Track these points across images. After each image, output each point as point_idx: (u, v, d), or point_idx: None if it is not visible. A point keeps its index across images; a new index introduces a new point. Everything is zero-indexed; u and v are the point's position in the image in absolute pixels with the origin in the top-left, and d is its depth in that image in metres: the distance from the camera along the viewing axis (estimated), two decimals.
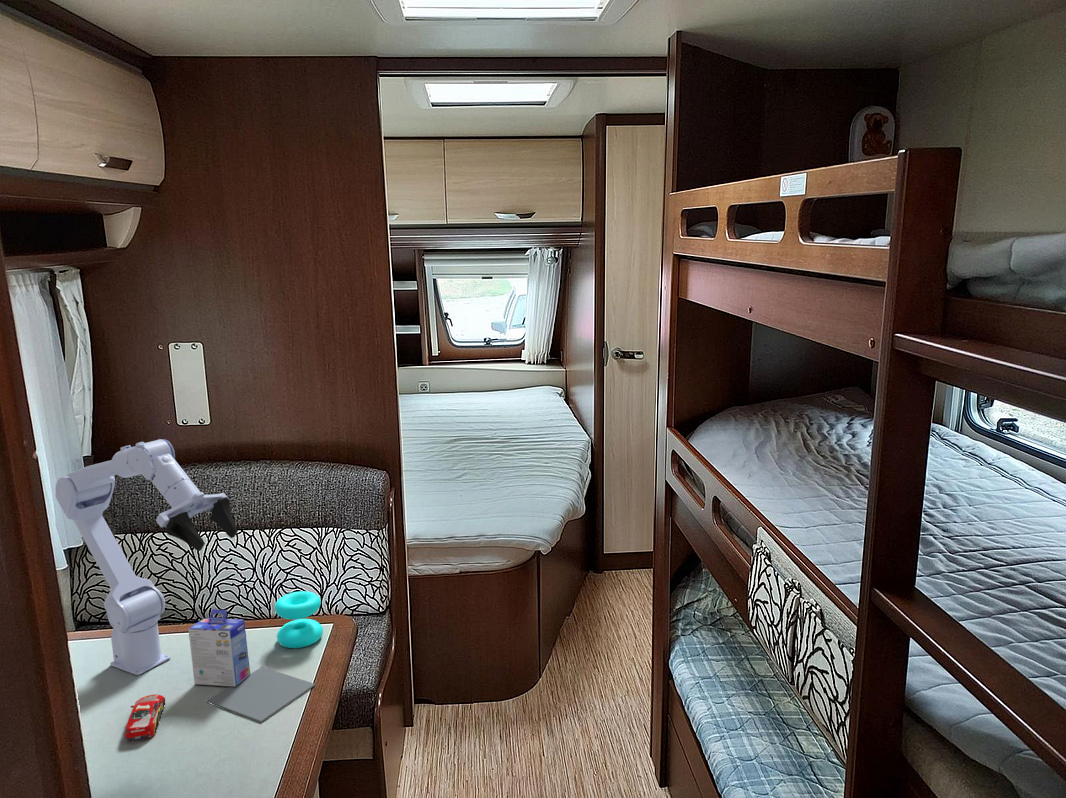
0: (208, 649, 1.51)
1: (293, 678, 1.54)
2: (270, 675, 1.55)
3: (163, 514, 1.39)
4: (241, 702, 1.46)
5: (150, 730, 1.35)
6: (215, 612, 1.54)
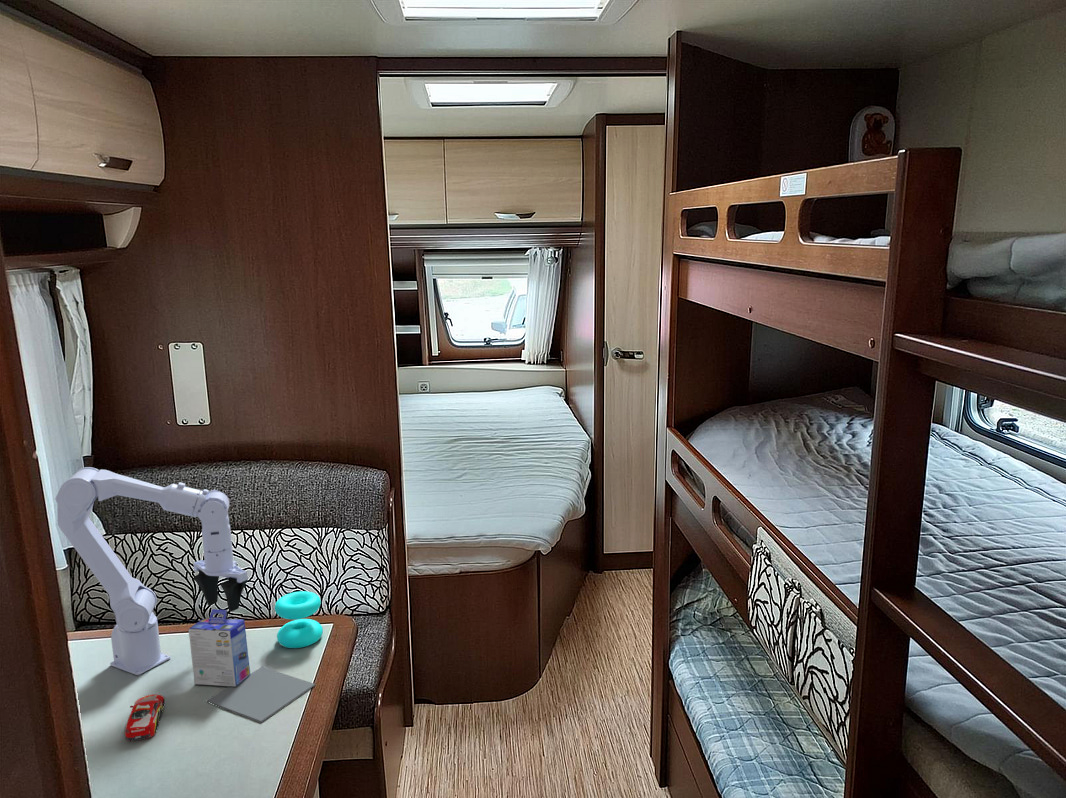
0: (208, 649, 1.51)
1: (293, 678, 1.54)
2: (270, 675, 1.55)
3: None
4: (241, 702, 1.46)
5: (150, 730, 1.35)
6: (215, 612, 1.54)
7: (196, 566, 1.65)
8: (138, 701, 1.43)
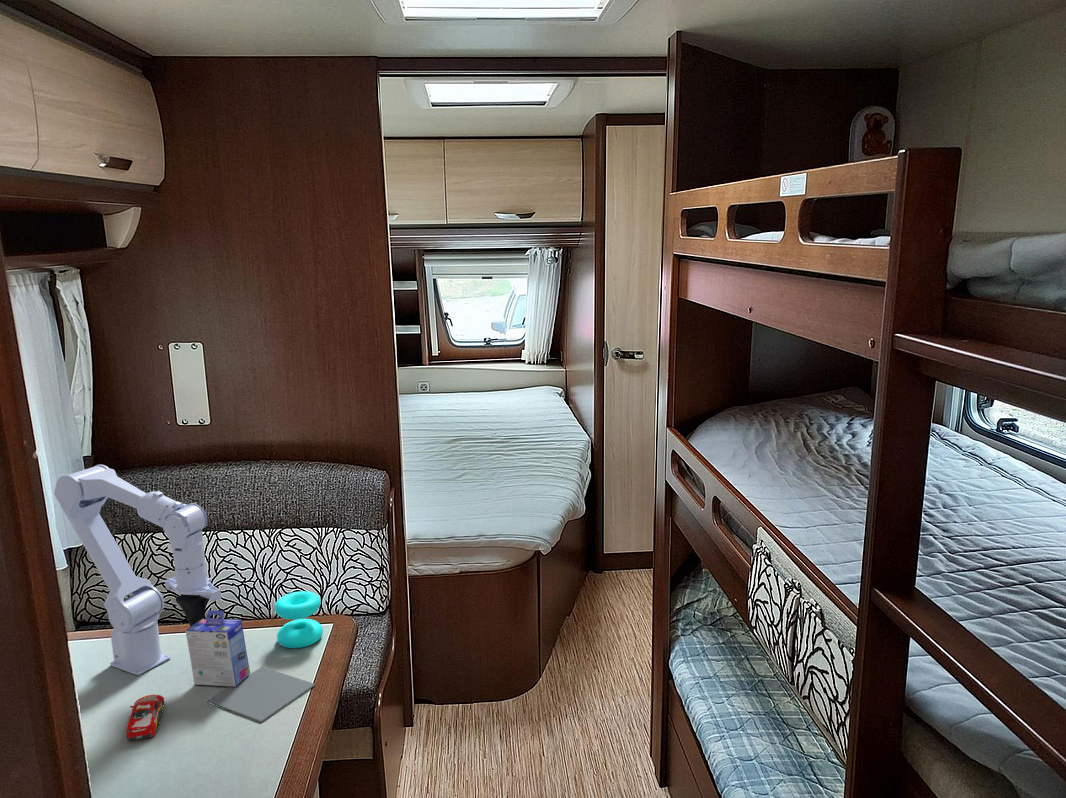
0: (206, 651, 1.51)
1: (293, 678, 1.54)
2: (270, 675, 1.55)
3: None
4: (241, 702, 1.46)
5: (152, 729, 1.36)
6: (212, 613, 1.53)
7: (168, 584, 1.56)
8: (138, 701, 1.43)
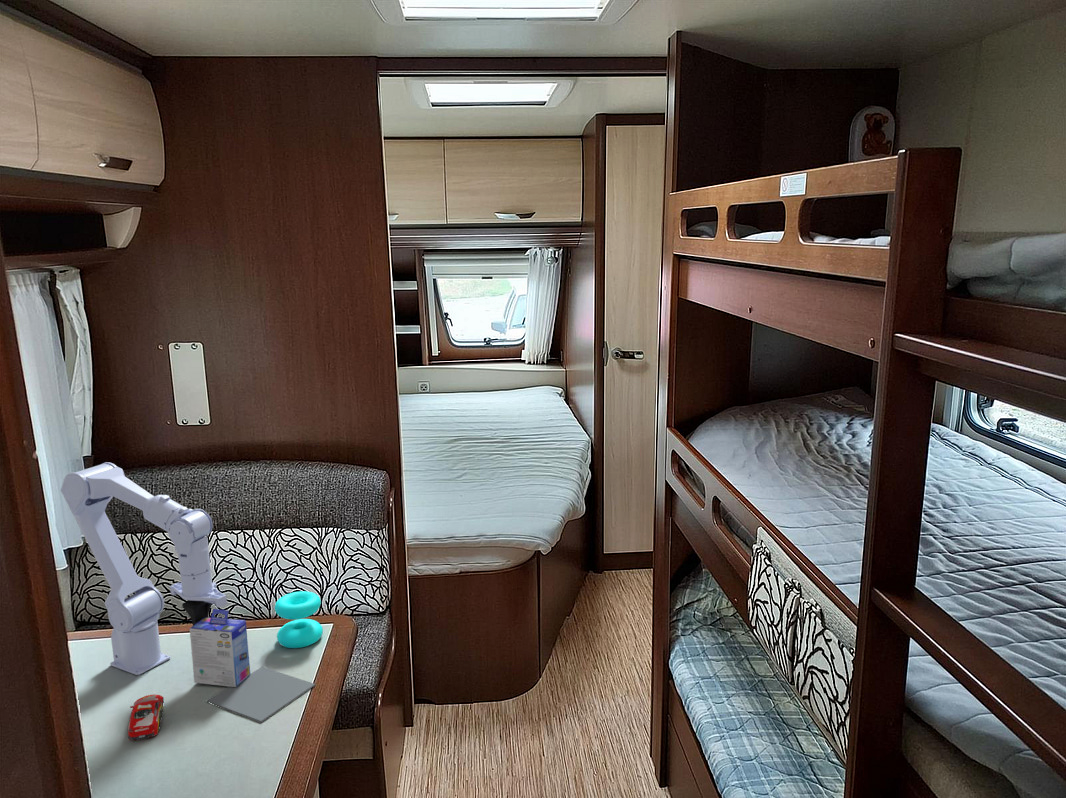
0: (209, 649, 1.51)
1: (293, 678, 1.54)
2: (270, 675, 1.55)
3: None
4: (241, 702, 1.46)
5: (154, 728, 1.36)
6: (217, 612, 1.53)
7: (173, 589, 1.56)
8: (138, 701, 1.43)
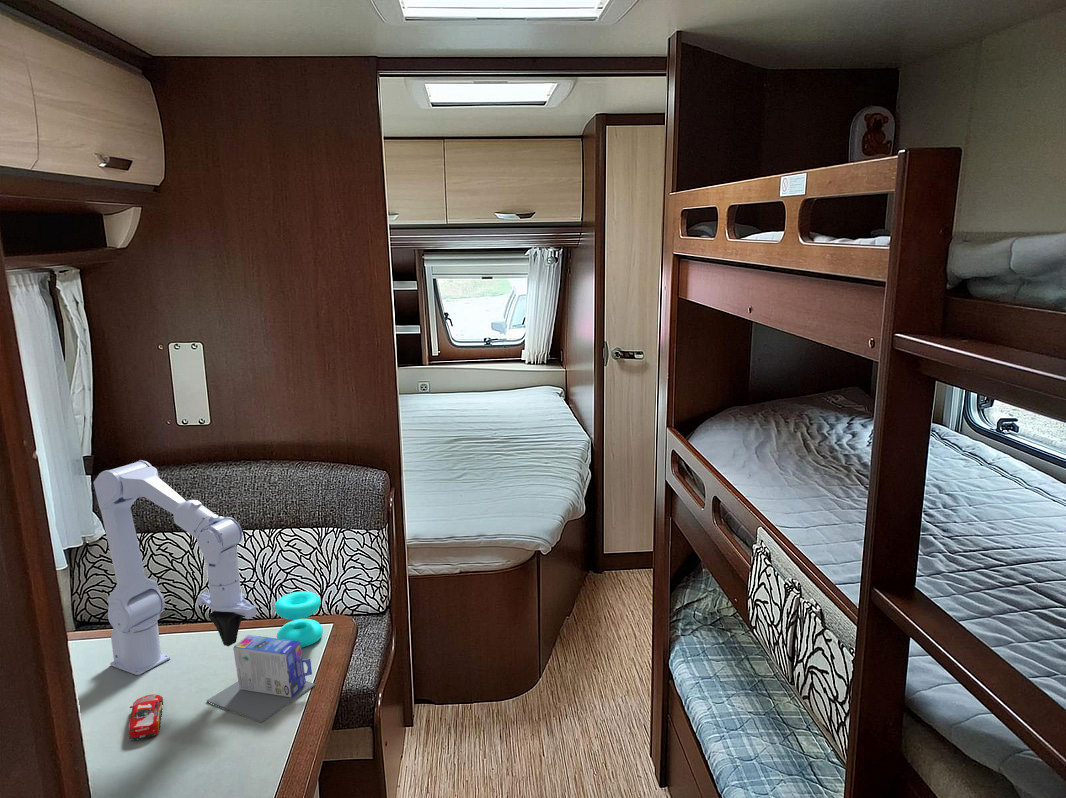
0: (269, 670, 1.47)
1: None
2: None
3: None
4: (241, 702, 1.46)
5: (155, 728, 1.36)
6: (307, 664, 1.48)
7: (200, 599, 1.52)
8: (137, 701, 1.43)
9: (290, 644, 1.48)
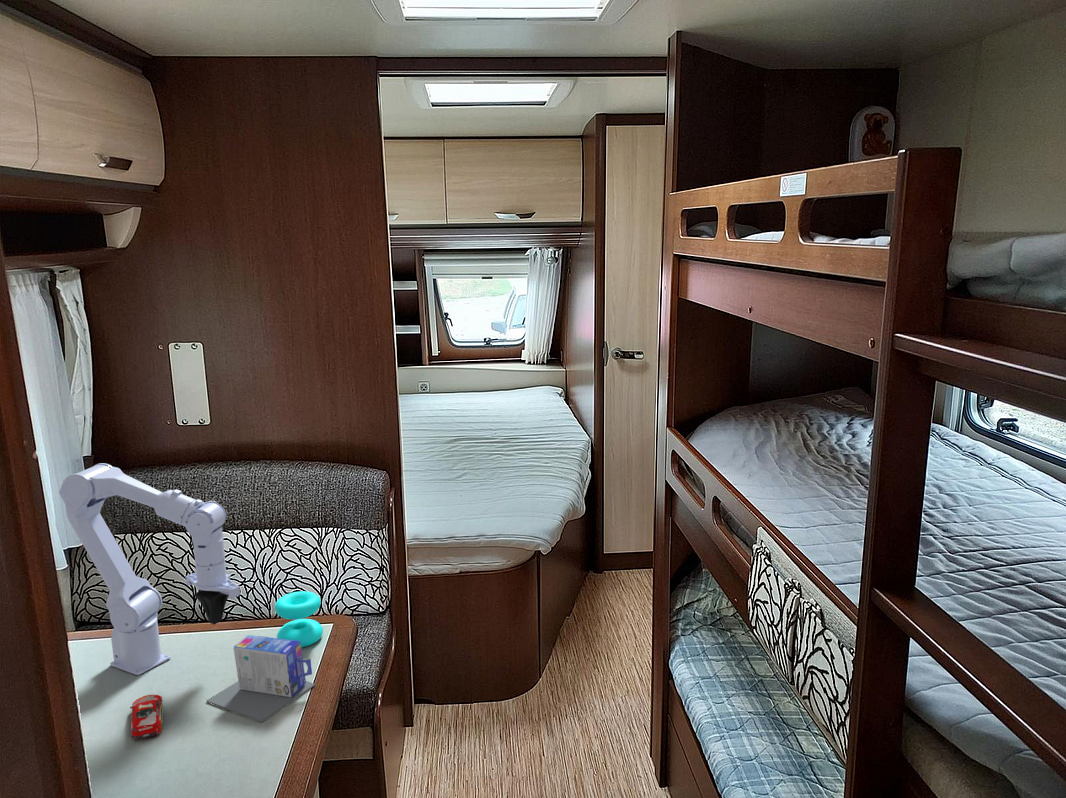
0: (269, 670, 1.47)
1: None
2: None
3: None
4: (241, 702, 1.46)
5: (158, 727, 1.36)
6: (307, 664, 1.49)
7: (188, 580, 1.59)
8: (136, 702, 1.43)
9: (290, 644, 1.48)
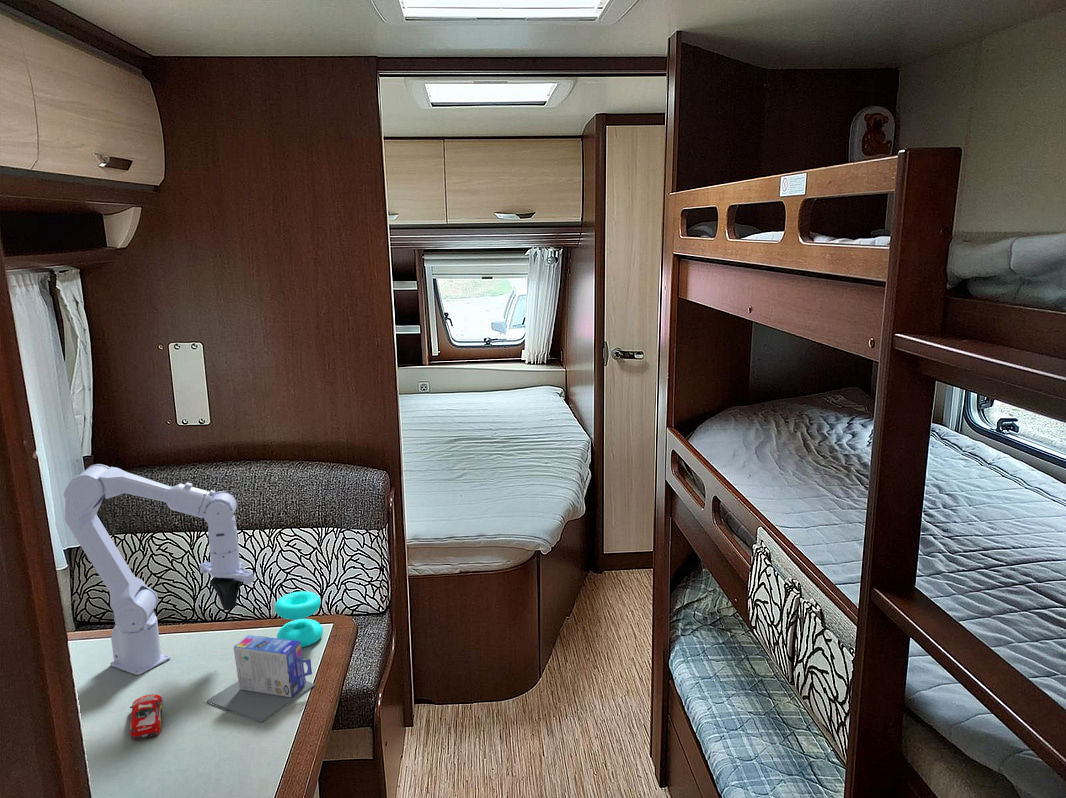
0: (269, 670, 1.47)
1: None
2: None
3: None
4: (241, 702, 1.46)
5: (157, 727, 1.36)
6: (307, 664, 1.49)
7: (202, 568, 1.64)
8: (136, 701, 1.43)
9: (290, 644, 1.48)
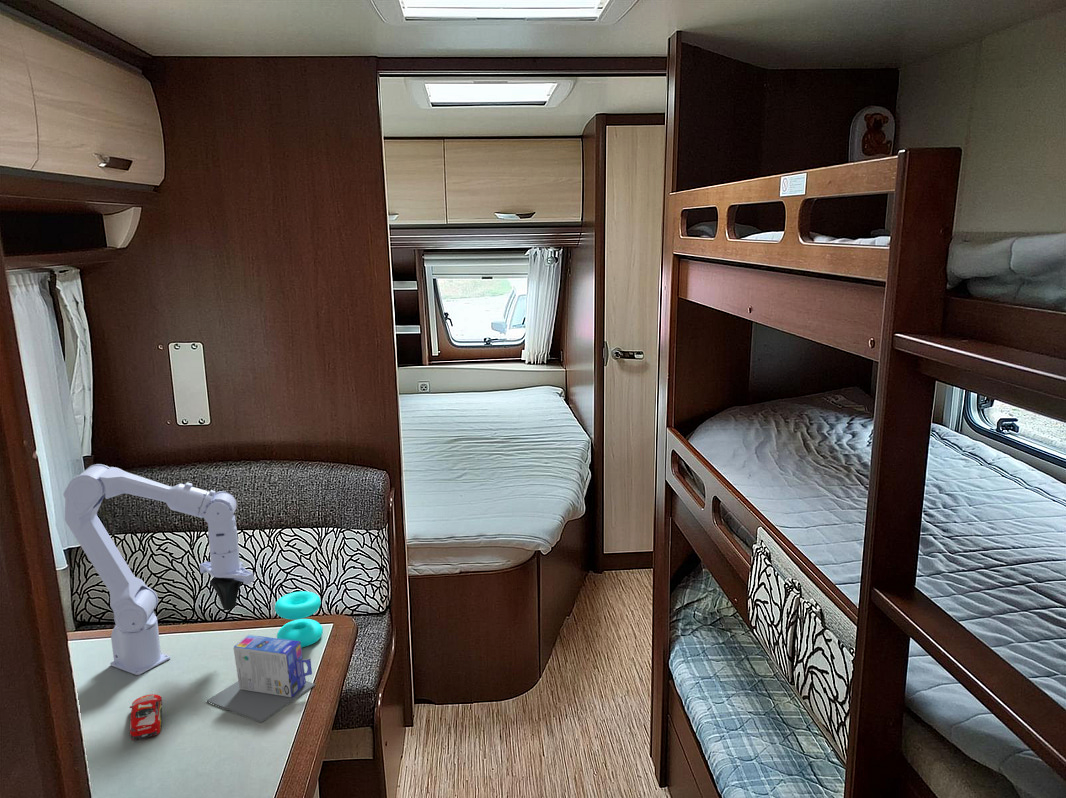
0: (269, 670, 1.47)
1: None
2: None
3: None
4: (241, 702, 1.46)
5: (157, 727, 1.36)
6: (307, 664, 1.49)
7: (202, 568, 1.64)
8: (136, 701, 1.43)
9: (290, 644, 1.48)
